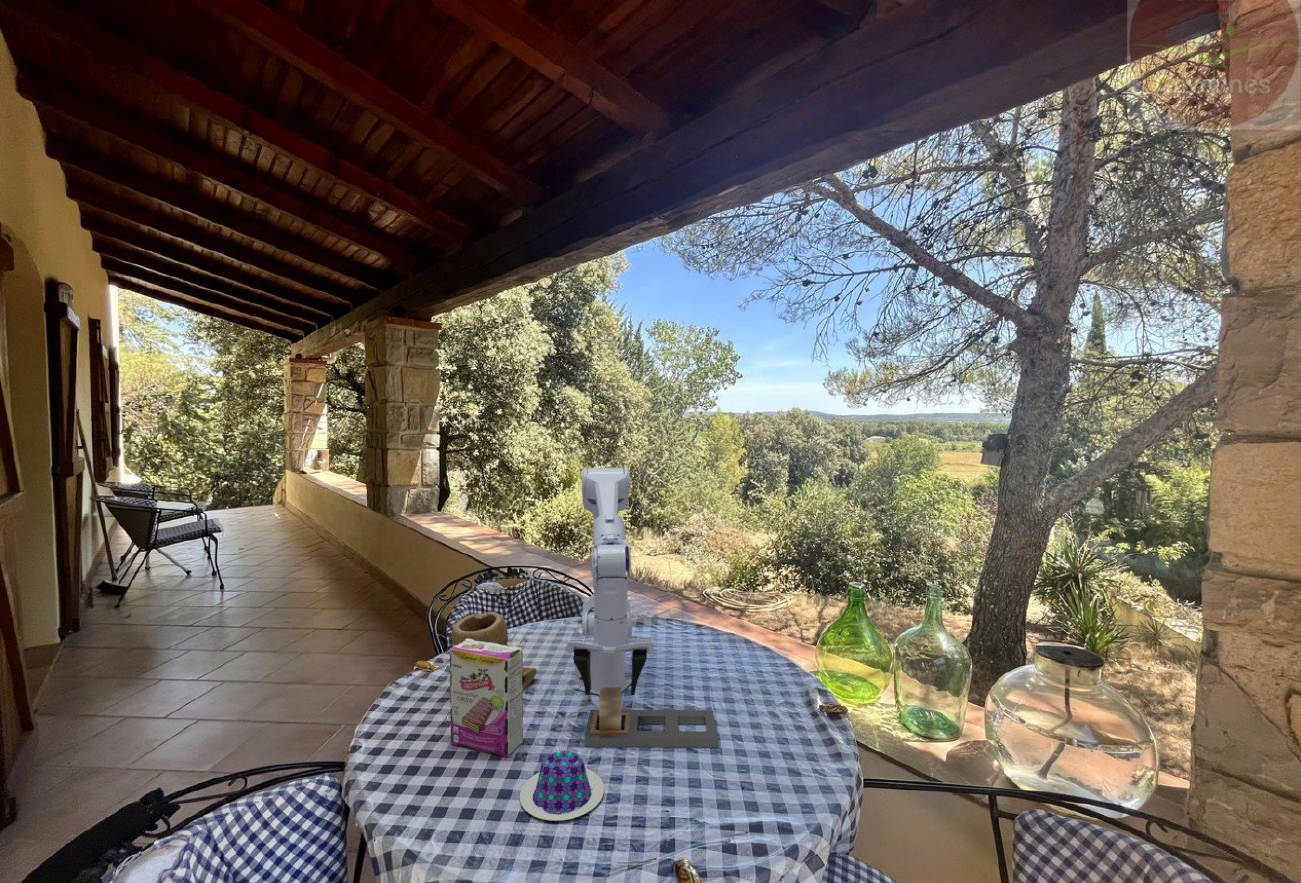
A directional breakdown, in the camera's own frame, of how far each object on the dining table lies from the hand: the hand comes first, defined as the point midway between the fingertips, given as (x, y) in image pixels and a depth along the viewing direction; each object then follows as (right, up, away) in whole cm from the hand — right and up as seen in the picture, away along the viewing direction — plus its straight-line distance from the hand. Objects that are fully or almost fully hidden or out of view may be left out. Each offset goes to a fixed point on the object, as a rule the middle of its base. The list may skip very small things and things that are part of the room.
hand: (610, 692), depth 99 cm
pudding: (-6, -8, -16) cm, 19 cm away
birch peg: (0, -7, 0) cm, 7 cm away
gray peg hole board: (+7, -7, 0) cm, 10 cm away
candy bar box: (-20, -7, -4) cm, 22 cm away
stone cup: (-25, -6, +15) cm, 30 cm away
